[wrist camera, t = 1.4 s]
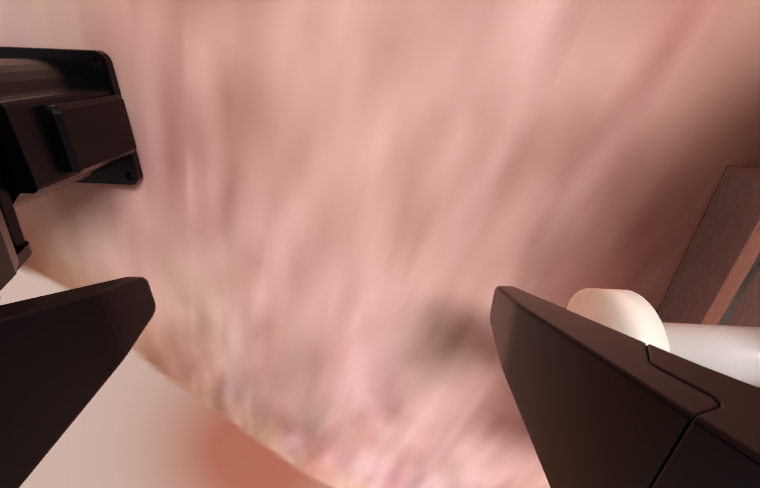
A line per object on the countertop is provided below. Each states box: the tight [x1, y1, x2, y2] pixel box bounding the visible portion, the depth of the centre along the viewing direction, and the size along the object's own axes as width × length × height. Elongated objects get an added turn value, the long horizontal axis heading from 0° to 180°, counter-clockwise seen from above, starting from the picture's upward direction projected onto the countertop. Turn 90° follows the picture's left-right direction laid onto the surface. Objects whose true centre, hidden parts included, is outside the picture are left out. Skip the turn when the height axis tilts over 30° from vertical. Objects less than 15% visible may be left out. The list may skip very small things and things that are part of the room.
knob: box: [566, 288, 760, 387], centre depth 16 cm, size 14×5×5 cm, turn 88°
